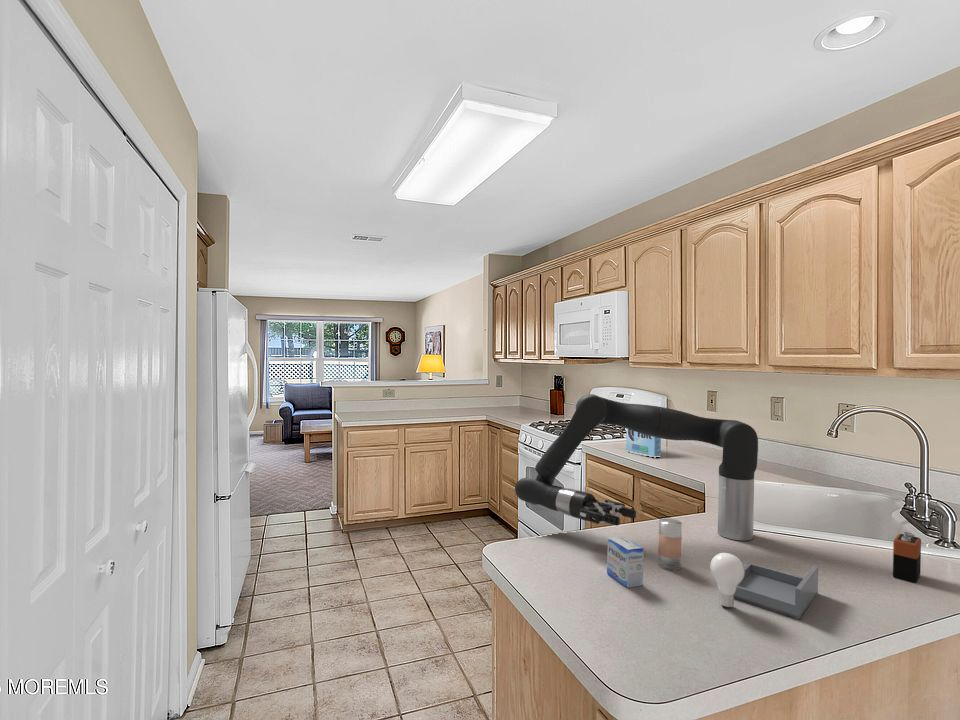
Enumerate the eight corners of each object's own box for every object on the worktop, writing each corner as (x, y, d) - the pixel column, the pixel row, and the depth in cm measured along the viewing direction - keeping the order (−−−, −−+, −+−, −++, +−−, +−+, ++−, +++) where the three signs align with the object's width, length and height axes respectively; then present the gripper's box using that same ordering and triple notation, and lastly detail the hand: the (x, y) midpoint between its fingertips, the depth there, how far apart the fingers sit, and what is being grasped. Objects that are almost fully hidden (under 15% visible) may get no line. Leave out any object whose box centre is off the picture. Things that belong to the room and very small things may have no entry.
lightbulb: (751, 612, 101) (752, 558, 101) (725, 616, 99) (726, 561, 99) (727, 597, 107) (728, 546, 107) (702, 601, 105) (703, 549, 105)
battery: (920, 575, 120) (921, 534, 119) (916, 583, 115) (917, 540, 115) (897, 569, 123) (898, 529, 123) (892, 577, 118) (893, 535, 118)
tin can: (663, 559, 127) (664, 516, 127) (684, 566, 123) (685, 521, 123) (654, 565, 123) (655, 521, 123) (675, 572, 119) (676, 527, 119)
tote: (748, 573, 120) (749, 548, 119) (817, 593, 110) (818, 566, 110) (724, 595, 108) (725, 567, 108) (799, 620, 98) (800, 589, 98)
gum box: (660, 458, 256) (661, 413, 256) (654, 458, 253) (654, 414, 253) (632, 451, 273) (632, 409, 273) (625, 452, 270) (626, 410, 270)
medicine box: (606, 574, 118) (606, 537, 118) (621, 571, 120) (622, 535, 120) (627, 588, 111) (627, 550, 111) (643, 585, 112) (644, 547, 112)
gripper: (561, 495, 137) (614, 509, 126) (589, 486, 147) (640, 498, 136) (560, 522, 137) (613, 538, 126) (588, 511, 147) (639, 526, 136)
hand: (627, 517), depth 131 cm, fingers open, 8 cm apart
